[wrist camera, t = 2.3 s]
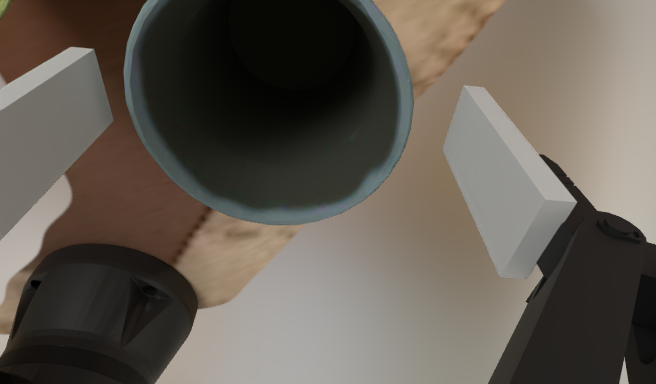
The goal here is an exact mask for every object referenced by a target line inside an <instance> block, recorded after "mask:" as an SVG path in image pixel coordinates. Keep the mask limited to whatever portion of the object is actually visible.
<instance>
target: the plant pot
mask: <svg viewBox="0 0 656 384" xmlns="http://www.w3.org/2000/svg"><path fill="white" fill-rule="evenodd" d="M12 1H13V0H0V20H1V18H2V17H3V16H4V15H5V13H6V12H7V10H8V9H9V7H10V5H11V3H12Z"/></svg>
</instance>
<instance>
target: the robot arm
mask: <svg viewBox="0 0 656 384" xmlns="http://www.w3.org/2000/svg"><path fill="white" fill-rule="evenodd" d="M113 121H114V120H113V116H112V113H111V109H110V105H109V102H108V98H107V94H106V91H105V87H104V84H103V80H102V76H101V73H100V69H99V65H98V62H97V58H96V54H95V51H94V49H88V48H78V47H70V48H68V49H67V50H65V51H63V52H61V53H60V54H58V55H56V56H55V57H53V58H51V59H50V60H48V61H46V62H44V63H43V64H41V65H39V66H38V67H36V68H34V69H33V70H31V71H29V72H28V73H26V74H24V75H22V76H21V77H19V78H17V79H16V80H14V81H12V82H11V83H9V84H7V85H6V86H4V87H2V88H0V240H1V239H2V238H3V237H4V236H5V235H6V234H7V233H8V232H9V231H10V230H11V229H12V227H14V225H15V224H16V223H17V222H18V221H19V220H20V219H21V218H22V217H23V216H24V215H25V214H26V213H27V212H28V211H29V210H30V209H31V208H32V206H33V205H34V204H35V203H36V202H37V201H38V200H39V199H40V198H41V197H42V196H43V195H44V194H45V193H46V191H48V190H49V189H50V187H51V186H52V185H53V184H54V183H55V182H56V181H57V180H58V179H59V178H60V177H61V176H62V175H63V174H64V173H65V172H66V171H67V170H68V169H69V167H70V166H71V165H72V164H73V163H74V162H75V161H76V160H77V159H78V158H79V157H80V156H81V155H82V154H83V153H84V152H85V151H86V150H87V148H88V147H89V146H90V145H91V144H92V143H93V142H94V141H95V140H96V139H97V138H98V137H99V136H100V135H101V134H102V133H103V132H104V131H105V130H106V128H107V127H108V126H109V125H110V124H111V123H112V122H113ZM442 150H443V152H444V154H445V156H446V158H447V161H448V163H449V166H450V168H451V170H452V172H453V174H454V177H455V179H456V181H457V183H458V185H459V188H460V190H461V192H462V194H463V197H464V199H465V201H466V203H467V205H468V208H469V210H470V212H471V214H472V216H473V219H474V221H475V223H476V225H477V227H478V230H479V232H480V234H481V236H482V239H483V241H484V243H485V245H486V248H487V250H488V252H489V254H490V256H491V259H492V261H493V263H494V265H495V267H496V270H497V272H498V274H499V276H500V277H502V278H519V279H527V278H528V277H529V275H530V274H531V272H532V271H533V269H534V267H535V266H536V264H537V265H538V266H539V268H540V270H541V272H542V273H543V275H544V276H543V277H542V279H541V280H540V282H539V283H538V284H537V286H536V287H535V289H534V290H533V292H532V293H531V295H530V296H529V297H528V299H527V301H526V302H527V303H528V305H527V307H526V309H525V311H524V313H523V315H522V317H521V319H520V321H519V323H518V325H517V327H516V329H515V331H514V333H513V335H512V337H511V339H510V341H509V343H508V345H507V347H506V349H505V351H504V353H503V355H502V357H501V359H500V361H499V363H498V365H497V367H496V369H495V371H494V373H493V375H492V377H491V379H490V381H489V383H488V384H619V381H620V376H621V371H622V366H623V361H624V356H625V362H626V369H627V375H628V382H629V384H656V245H655V244H652V243H648V242H647V241H646V237H645V236H644V235H643V233H642V232H641V231H640V230H639V229H638V228H637V227H636V226H634V225H633V224H631V223H630V222H628V221H627V220H625V219H623V218H621V217H619V216H616V215H613V214H610V213H607V212H601V211H597V210H596V209H595V208H594V206H593V205H592V204H591V203H590V202H589V201H588V199H587V198H586V197H585V196H584V195H583V194H582V192H581V191H580V190H579V189H578V188H577V187H576V186H574V183H573V182H572V181H571V180H570V178H569V177H566V176H567V175H566V174H565V173H564V171H563V170H562V169H561V168H560V167H559V166H558V164H556V163H554V162H553V161H552V160H550V159H549V158H547V157H546V156H545V155H541V154H538V153H537V152H536V151H535V150H534V148H533V147H532V146H531V145H530V144H529V142H528V141H527V140H526V139H525V137H524V136H523V135H522V134H521V133H520V131H519V130H518V129H517V127H515V125H514V124H513V123H512V122H511V120H510V119H509V118H508V116H507V115H506V114H505V113H504V112H503V110H502V109H501V108H500V107H499V105H498V104H497V103H496V102H495V100H494V99H493V98H492V97H491V96H490V95H489V93H488V92H487V91H486V90H485V88H484V87H475V86H465V85H464V86H463V89H462V91H461V95H460V97H459V101H458V104H457V107H456V110H455V112H454V116H453V119H452V121H451V125H450V127H449V131H448V133H447V136H446V139H445V142H444V145H443V148H442ZM196 312H197V299H196V296H195V293H194V291H193V289H192V288H191V286H190V285H189V283H188V282H187V281H186V280H185V279H184V278H183V277H182V276H181V275H180V274H179V273H178V272H176V271H175V270H174V269H173V268H171V267H170V266H168V265H166V264H165V263H163V262H161V261H160V260H158V259H156V258H153V257H151V256H149V255H147V254H144V253H141V252H138V251H135V250H132V249H128V248H124V247H119V246H114V245H106V244H80V245H73V246H68V247H65V248H62V249H59V250H57V251H54V252H53V253H51V254H49V255H48V256H47V257H45V258H44V259H43V260H42V262H41V263H40V264H39V265H38V267H37V268H36V269H35V271H34V272H33V273H32V275H31V276H30V277H29V279H28V280H27V282H26V284H25V286H24V288H23V292H22V295H21V298H20V302H19V305H18V308H17V312H16V315H15V319H14V322H13V325H12V329H11V332H10V336H9V339H8V343H7V346H6V349H5V351H4V352H3V354H2V355H1V357H0V384H155V382H156V381H157V379H158V378H159V377H160V375H161V374H162V373H163V371H164V370H165V368H166V367H167V365H168V364H169V362H170V361H171V360H172V358H173V357H174V356H175V354H176V353H177V351H178V350H179V349H180V347H181V346H182V344H183V343H184V342H185V340H186V339H187V337H188V335H189V333H190V331H191V329H192V326H193V322H194V319H195V316H196Z"/></svg>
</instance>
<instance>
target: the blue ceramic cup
mask: <svg viewBox="0 0 656 384" xmlns="http://www.w3.org/2000/svg"><path fill="white" fill-rule="evenodd" d="M124 84H125V96H126V104H127V107H128V110H129V112H130V115H131V118H132V121H133V124H134V127H135V130H136V132H137V134H138V135H139V137H140V139H141V141H142V143H143V145H144V146H145V148H146V150H147V151H148V152H149V153H150V155H151V156H152V157H153V158H154V160H155V161H156V162H157V163H158V165H159V166H160V167H161V168H162V170H163V171H164V172H165V173H166V175H167V176H168V177H169V178H170V179H171V180H172V181H173V182H174V183H176V184H177V185H178V186H179V187H180V188H182V189H183V190H184V191H185V192H186V193H188V194H189V195H190V196H191V197H193V198H195V199H196V200H198V201H200V202H201V203H203V204H205V205H206V206H208V207H210V208H212V209H214V210H217V211H219V212H221V213H223V214H226V215H228V216H231V217H235V218H238V219H241V220H245V221H249V222H255V223H261V224H268V225H299V224H304V223H310V222H316V221H320V220H323V219H326V218H329V217H332V216H334V215H338V214H341V213H343V212H344V211H346V210H348V209H350V208H351V207H353V206H355V205H356V204H358V203H360V202H362V201H363V200H364V199H366V198H367V197H368V196H369V195H371V194H372V193H373V192H374V191H375V190H376V189H377V188H378V187H379V186H380V185H381V184H382V183H383V182H384V181H385V180H386V179H387V177H388V176H389V175H390V173H391V172H392V170H393V168H394V167H395V165H396V164H397V162H398V160H399V159H400V157H401V154H402V152H403V150H404V148H405V146H406V142H407V139H408V136H409V133H410V130H411V123H412V115H413V106H414V99H413V85H412V80H411V76H410V72H409V69H408V65H407V61H406V58H405V54H404V52H403V50H402V47H401V45H400V42H399V40H398V38H397V35H396V33H395V32H394V30H393V28H392V26H391V25H390V23H389V22H388V20H387V19H386V17H385V16H384V14H383V13H382V12H381V11H380V10H379V9H378V7H377V6H376V5H375V4H374V3H373V2H372V0H148V1H147V2H146V3H145V4H144V5H143V7H142V9H141V11H140V13H139V15H138V17H137V19H136V21H135V23H134V25H133V28H132V30H131V33H130V36H129V39H128V42H127V49H126V56H125V64H124Z"/></svg>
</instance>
